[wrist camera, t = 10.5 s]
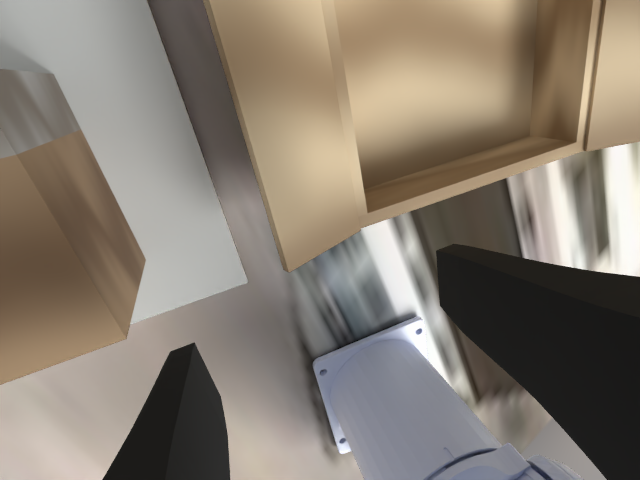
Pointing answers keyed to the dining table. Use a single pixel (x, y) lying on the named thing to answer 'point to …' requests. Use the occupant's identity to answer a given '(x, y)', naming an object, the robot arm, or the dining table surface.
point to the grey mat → (132, 137)
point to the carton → (416, 100)
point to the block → (57, 235)
